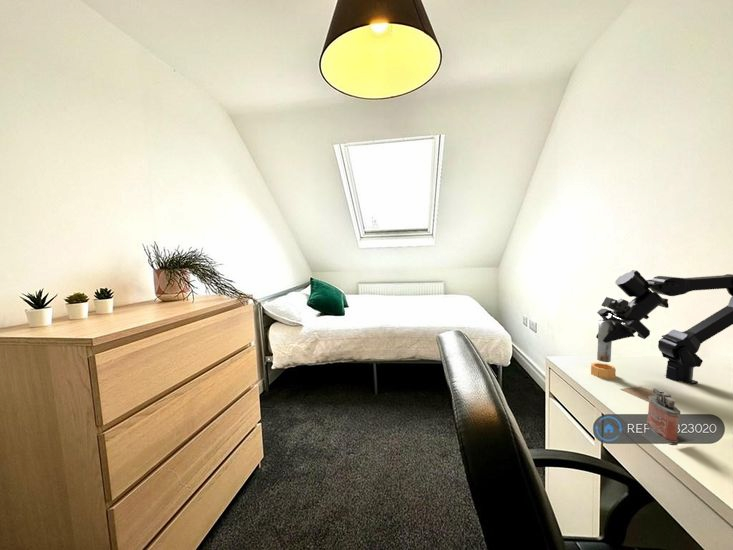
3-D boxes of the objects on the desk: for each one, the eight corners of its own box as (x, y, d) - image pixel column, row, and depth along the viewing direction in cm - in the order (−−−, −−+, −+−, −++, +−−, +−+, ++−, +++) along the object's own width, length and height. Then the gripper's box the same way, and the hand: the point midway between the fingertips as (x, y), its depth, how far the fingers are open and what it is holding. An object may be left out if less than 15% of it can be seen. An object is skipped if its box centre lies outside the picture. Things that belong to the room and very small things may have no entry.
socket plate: (601, 370, 114) (601, 360, 114) (626, 381, 106) (627, 370, 105) (579, 372, 112) (580, 362, 112) (603, 383, 104) (604, 372, 103)
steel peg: (608, 359, 109) (610, 320, 108) (612, 362, 106) (614, 322, 105) (595, 357, 111) (597, 319, 110) (598, 361, 108) (600, 322, 106)
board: (640, 388, 100) (641, 386, 100) (670, 401, 92) (670, 398, 92) (619, 391, 98) (619, 389, 98) (647, 404, 90) (647, 401, 90)
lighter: (682, 446, 72) (686, 402, 71) (664, 444, 73) (668, 400, 72) (658, 426, 80) (661, 386, 79) (641, 424, 80) (645, 385, 79)
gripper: (604, 285, 115) (569, 316, 118) (641, 293, 96) (597, 329, 99) (628, 308, 114) (592, 338, 117) (669, 320, 96) (625, 356, 99)
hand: (600, 339), depth 108 cm, fingers closed on steel peg, 4 cm apart
